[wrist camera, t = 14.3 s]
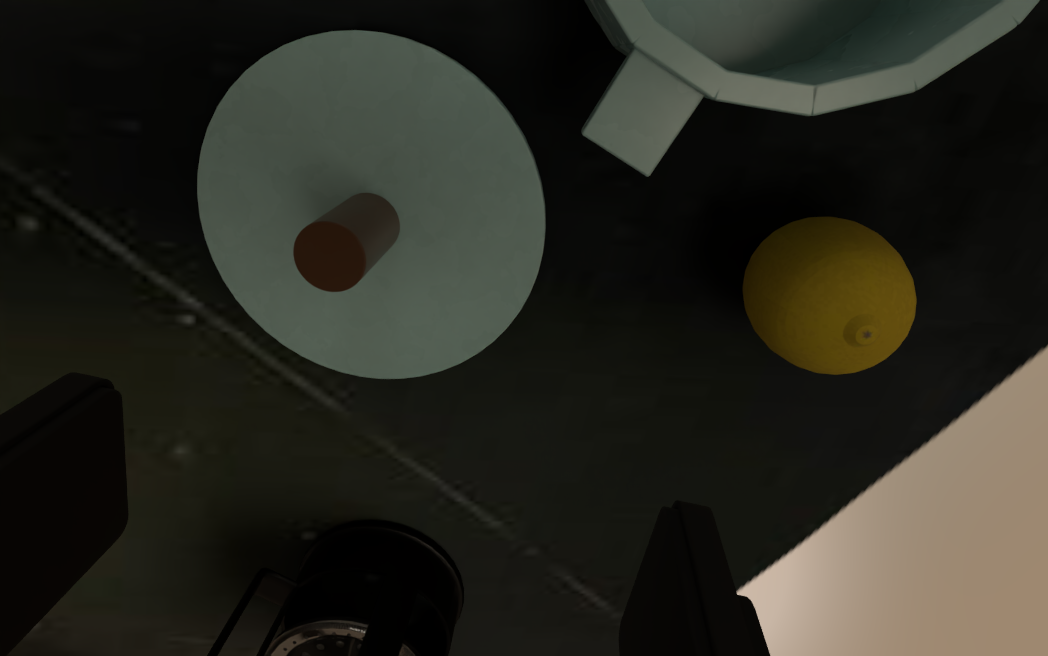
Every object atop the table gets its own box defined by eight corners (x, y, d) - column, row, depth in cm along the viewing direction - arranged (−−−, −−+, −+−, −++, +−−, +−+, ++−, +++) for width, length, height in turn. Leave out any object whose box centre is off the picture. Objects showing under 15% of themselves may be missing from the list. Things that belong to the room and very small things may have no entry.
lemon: (883, 228, 27) (999, 293, 20) (810, 339, 29) (891, 434, 22) (765, 176, 27) (839, 223, 19) (700, 293, 29) (745, 375, 21)
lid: (165, 266, 30) (71, 316, 24) (288, -50, 24) (203, -81, 19) (445, 419, 32) (418, 498, 26) (614, 160, 27) (626, 189, 21)
